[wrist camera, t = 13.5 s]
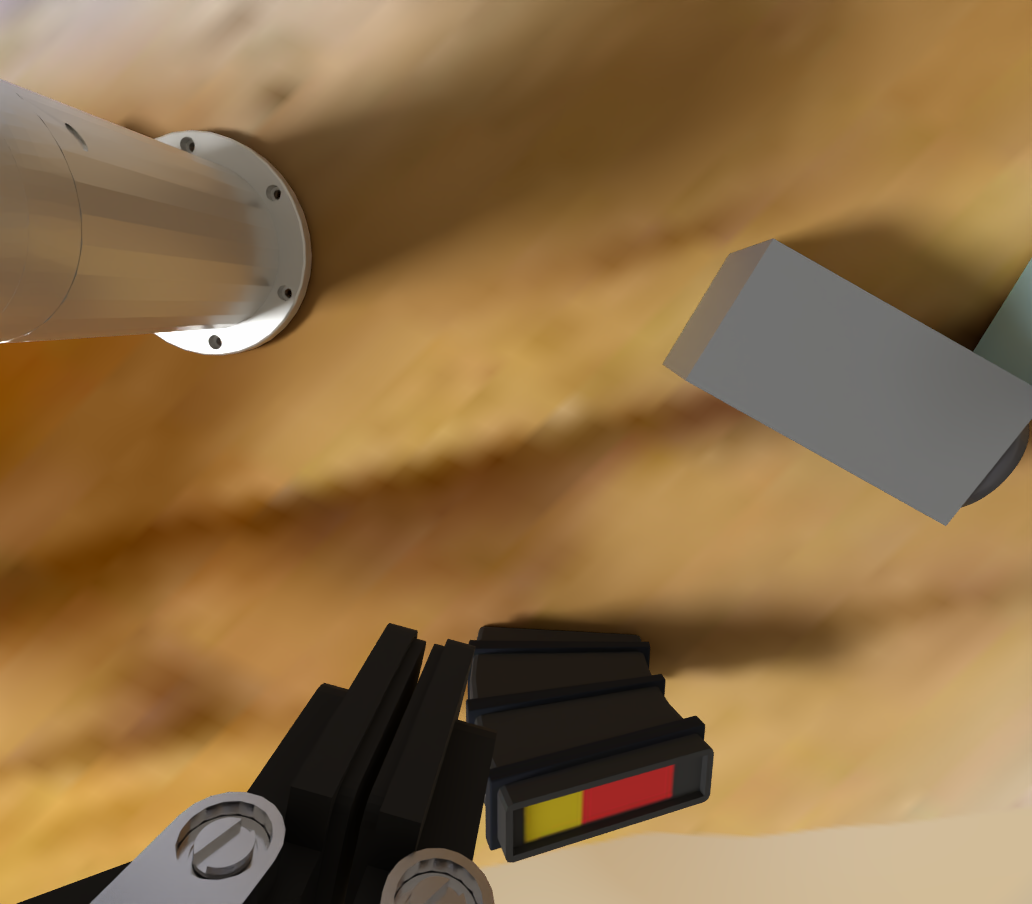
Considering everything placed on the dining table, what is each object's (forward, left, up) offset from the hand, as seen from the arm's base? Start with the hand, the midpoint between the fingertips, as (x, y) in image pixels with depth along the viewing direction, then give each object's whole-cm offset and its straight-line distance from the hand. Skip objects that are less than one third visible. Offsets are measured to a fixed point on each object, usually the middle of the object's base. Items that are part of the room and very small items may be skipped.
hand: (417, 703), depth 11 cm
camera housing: (+12, +11, -27) cm, 31 cm away
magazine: (+10, -12, -27) cm, 31 cm away
